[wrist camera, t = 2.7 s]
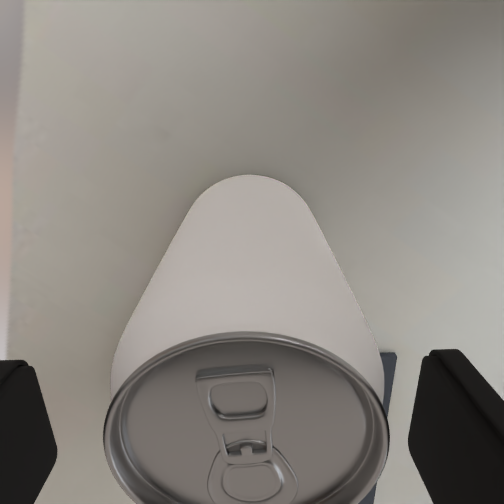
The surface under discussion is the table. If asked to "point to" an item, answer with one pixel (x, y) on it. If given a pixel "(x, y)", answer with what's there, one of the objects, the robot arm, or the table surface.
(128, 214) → the table surface
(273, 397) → the can
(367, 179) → the table surface
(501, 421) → the robot arm
